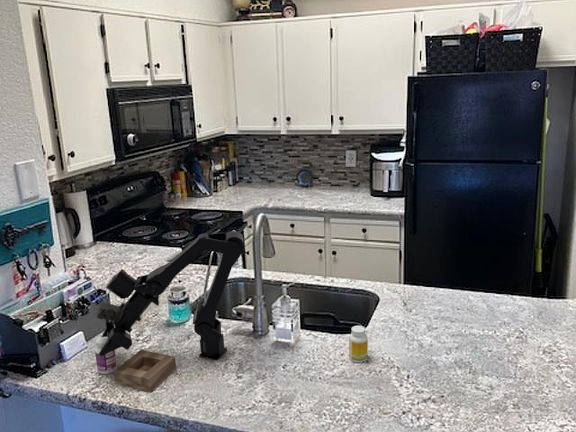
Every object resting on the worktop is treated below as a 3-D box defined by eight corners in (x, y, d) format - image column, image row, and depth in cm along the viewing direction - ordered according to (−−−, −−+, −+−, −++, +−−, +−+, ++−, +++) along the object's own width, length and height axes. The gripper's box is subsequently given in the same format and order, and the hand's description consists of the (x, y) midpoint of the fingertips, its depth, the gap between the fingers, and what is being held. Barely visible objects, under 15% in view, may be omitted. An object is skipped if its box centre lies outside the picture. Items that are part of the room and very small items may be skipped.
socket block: (176, 369, 151) (174, 356, 150) (150, 392, 141) (149, 379, 140) (142, 361, 156) (140, 349, 155) (115, 383, 145) (113, 370, 144)
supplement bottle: (345, 356, 155) (345, 327, 152) (360, 351, 157) (360, 322, 154) (355, 364, 150) (355, 334, 147) (371, 360, 152) (371, 330, 150)
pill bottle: (111, 375, 149) (106, 345, 147) (94, 374, 150) (89, 344, 148) (120, 365, 154) (116, 336, 152) (104, 363, 155) (99, 334, 153)
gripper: (109, 281, 156) (75, 323, 155) (114, 306, 139) (76, 352, 138) (139, 300, 161) (106, 340, 160) (147, 326, 144) (110, 371, 143)
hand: (99, 350), depth 150 cm, fingers closed on pill bottle, 5 cm apart
